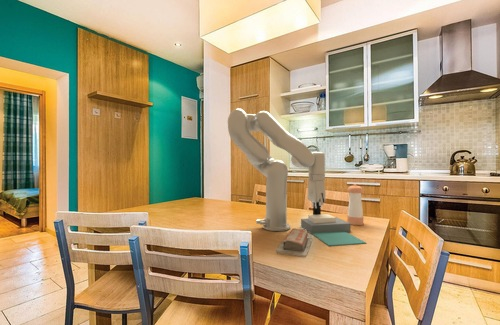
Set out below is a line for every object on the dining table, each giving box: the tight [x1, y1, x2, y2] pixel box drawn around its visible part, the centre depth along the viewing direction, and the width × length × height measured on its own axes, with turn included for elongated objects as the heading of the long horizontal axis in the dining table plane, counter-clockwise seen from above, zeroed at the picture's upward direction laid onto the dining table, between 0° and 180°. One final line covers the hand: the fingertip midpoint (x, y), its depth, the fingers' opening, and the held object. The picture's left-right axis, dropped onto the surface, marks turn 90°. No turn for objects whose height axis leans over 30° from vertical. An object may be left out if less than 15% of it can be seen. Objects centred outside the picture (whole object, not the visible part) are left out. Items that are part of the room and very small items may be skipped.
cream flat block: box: [307, 213, 337, 223], centre depth 111 cm, size 10×7×2 cm
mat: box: [311, 231, 367, 247], centre depth 97 cm, size 15×15×1 cm
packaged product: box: [276, 228, 313, 258], centre depth 89 cm, size 18×5×10 cm
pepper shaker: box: [346, 183, 364, 226], centre depth 119 cm, size 7×7×19 cm
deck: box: [300, 216, 352, 235], centre depth 111 cm, size 18×12×4 cm, turn 99°
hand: (316, 216), depth 116 cm, fingers closed
